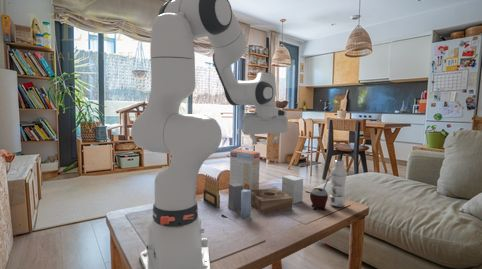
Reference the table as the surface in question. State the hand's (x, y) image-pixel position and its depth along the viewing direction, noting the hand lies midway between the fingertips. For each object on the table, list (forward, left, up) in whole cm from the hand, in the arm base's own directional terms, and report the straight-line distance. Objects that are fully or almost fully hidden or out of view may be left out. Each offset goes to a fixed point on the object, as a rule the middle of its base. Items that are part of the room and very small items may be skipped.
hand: (265, 143), depth 114 cm
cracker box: (+12, +5, -26) cm, 29 cm away
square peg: (-4, +15, -26) cm, 30 cm away
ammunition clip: (+4, +23, -26) cm, 35 cm away
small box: (-2, -13, -26) cm, 29 cm away
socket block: (-5, 0, -26) cm, 26 cm away
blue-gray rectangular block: (-13, +14, -26) cm, 32 cm away
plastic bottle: (-14, -28, -26) cm, 41 cm away
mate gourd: (-14, -19, -26) cm, 36 cm away
